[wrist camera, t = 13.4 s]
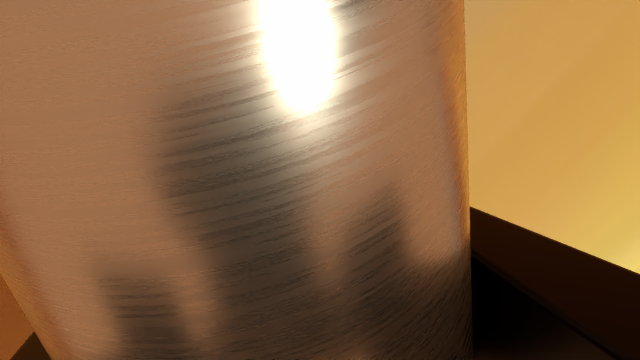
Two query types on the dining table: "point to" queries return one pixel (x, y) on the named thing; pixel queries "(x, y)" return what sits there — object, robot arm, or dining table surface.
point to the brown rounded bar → (237, 178)
